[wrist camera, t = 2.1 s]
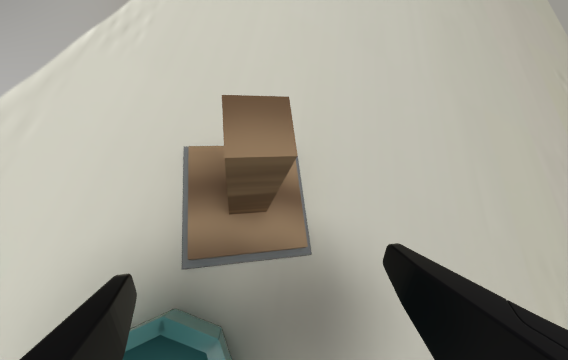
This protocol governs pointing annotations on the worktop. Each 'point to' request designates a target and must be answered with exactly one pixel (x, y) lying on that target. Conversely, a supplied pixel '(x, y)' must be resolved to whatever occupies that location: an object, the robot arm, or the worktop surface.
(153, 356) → the bowl
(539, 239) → the worktop surface
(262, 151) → the brown upright piece
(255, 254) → the mat
